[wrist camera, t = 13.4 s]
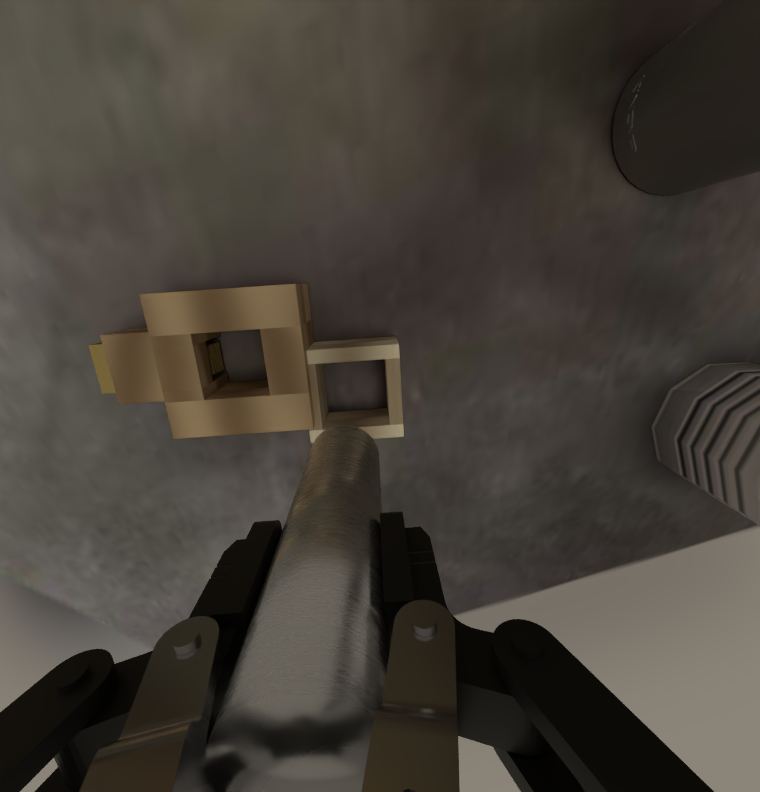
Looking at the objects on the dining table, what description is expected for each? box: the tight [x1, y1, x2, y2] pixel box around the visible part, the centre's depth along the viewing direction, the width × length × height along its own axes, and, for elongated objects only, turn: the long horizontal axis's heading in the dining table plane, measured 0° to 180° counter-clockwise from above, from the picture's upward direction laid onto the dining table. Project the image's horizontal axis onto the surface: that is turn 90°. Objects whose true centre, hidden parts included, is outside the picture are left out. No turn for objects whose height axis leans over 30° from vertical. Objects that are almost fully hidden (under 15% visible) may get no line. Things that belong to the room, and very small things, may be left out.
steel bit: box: [206, 425, 390, 792], centre depth 12 cm, size 3×3×12 cm
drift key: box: [89, 342, 224, 394], centre depth 29 cm, size 8×4×3 cm, turn 94°
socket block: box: [100, 283, 315, 439], centre depth 28 cm, size 14×10×5 cm
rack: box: [306, 336, 404, 443], centre depth 30 cm, size 7×7×4 cm
